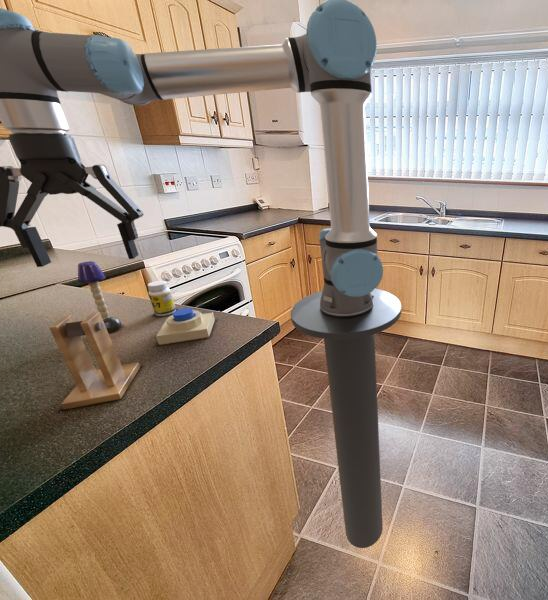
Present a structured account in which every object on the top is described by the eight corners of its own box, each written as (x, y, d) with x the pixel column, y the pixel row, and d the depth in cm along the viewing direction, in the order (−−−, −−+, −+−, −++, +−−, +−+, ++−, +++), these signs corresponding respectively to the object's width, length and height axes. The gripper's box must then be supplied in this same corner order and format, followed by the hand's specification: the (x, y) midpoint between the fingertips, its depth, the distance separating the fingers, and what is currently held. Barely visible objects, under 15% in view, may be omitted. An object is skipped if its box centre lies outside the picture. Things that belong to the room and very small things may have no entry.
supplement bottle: (151, 314, 88) (141, 284, 85) (168, 307, 92) (159, 278, 89) (163, 317, 87) (153, 287, 83) (180, 310, 91) (171, 281, 87)
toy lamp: (115, 323, 84) (90, 259, 77) (128, 325, 83) (104, 260, 76) (94, 332, 80) (65, 265, 73) (107, 335, 78) (80, 267, 72)
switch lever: (106, 334, 67) (104, 318, 67) (125, 331, 68) (123, 315, 68) (63, 340, 55) (60, 321, 54) (87, 337, 56) (84, 318, 55)
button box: (214, 320, 85) (211, 306, 83) (209, 337, 77) (204, 321, 76) (169, 326, 82) (164, 312, 80) (158, 344, 74) (153, 329, 73)
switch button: (196, 313, 81) (194, 307, 80) (192, 320, 77) (190, 313, 76) (177, 316, 79) (175, 309, 79) (172, 323, 76) (170, 316, 75)
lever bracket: (91, 375, 64) (61, 310, 59) (140, 367, 67) (116, 304, 61) (63, 410, 56) (25, 337, 50) (120, 399, 58) (90, 328, 52)
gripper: (139, 134, 61) (172, 249, 69) (-46, 133, 53) (17, 262, 62) (124, 132, 54) (162, 259, 63) (-90, 131, 47) (-13, 274, 55)
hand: (90, 260), depth 62 cm, fingers open, 13 cm apart
